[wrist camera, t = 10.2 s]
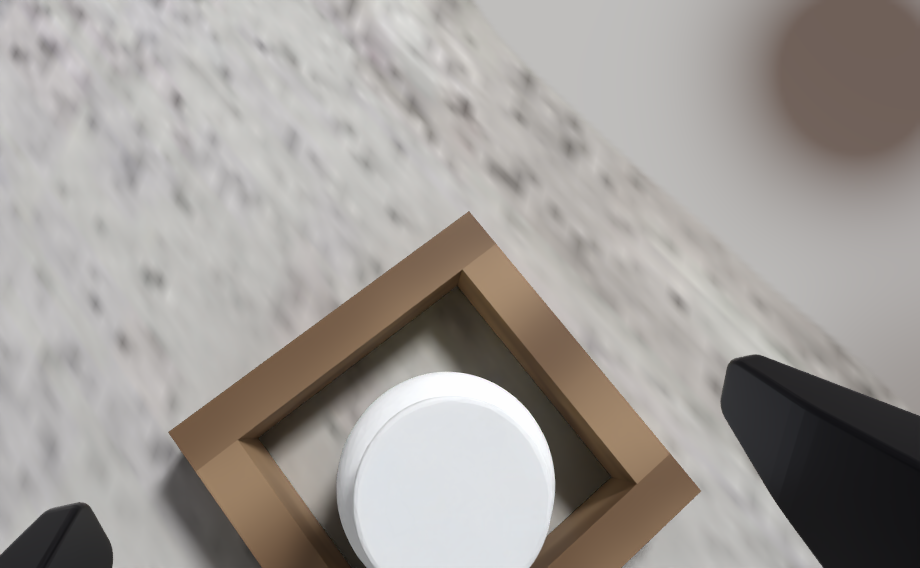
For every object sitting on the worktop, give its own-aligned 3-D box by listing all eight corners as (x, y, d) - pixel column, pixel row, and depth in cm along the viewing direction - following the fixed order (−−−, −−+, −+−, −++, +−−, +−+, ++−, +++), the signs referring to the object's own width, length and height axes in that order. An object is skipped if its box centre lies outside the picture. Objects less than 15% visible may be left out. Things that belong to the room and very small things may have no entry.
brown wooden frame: (668, 483, 21) (701, 491, 19) (406, 729, 19) (405, 774, 17) (463, 233, 23) (468, 210, 21) (197, 431, 21) (168, 432, 18)
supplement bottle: (328, 465, 21) (254, 501, 11) (435, 355, 22) (450, 302, 12) (438, 578, 20) (459, 718, 11) (542, 459, 21) (645, 487, 12)
